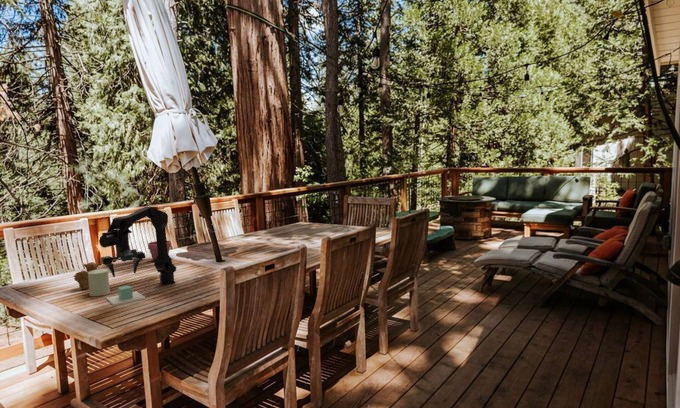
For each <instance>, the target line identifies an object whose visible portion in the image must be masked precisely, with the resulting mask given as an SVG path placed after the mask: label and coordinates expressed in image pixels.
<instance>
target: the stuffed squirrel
mask: <svg viewBox="0 0 680 408" xmlns="http://www.w3.org/2000/svg"><path fill="white" fill-rule="evenodd" d="M83 267H84V268H85V270H81V271H78V272H76V273H75V275H73V276H72V277H73V279H74V281H75V282H77V283H78V286H79V288H80V289H82V290H89V280H88V272H89V271H93V270H98V269H100V268H101V267H100V266H99V265H98V264H97V263H96V262H93V261H92V262H88V263H83Z"/></svg>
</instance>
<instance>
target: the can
mask: <svg viewBox="0 0 680 408" xmlns="http://www.w3.org/2000/svg"><path fill="white" fill-rule="evenodd" d="M88 280H89V289H88V290H89V291H88V292H89V293H88V294H89V296H91V297H100V296H101V297H102V296H105V295H107V294H110V292H111V291H110V279H109V269H106V268H101V269H99V268H97V270H93V271H89V272H88Z"/></svg>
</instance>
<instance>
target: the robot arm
mask: <svg viewBox="0 0 680 408" xmlns="http://www.w3.org/2000/svg"><path fill="white" fill-rule="evenodd" d="M168 215H169V214H168V213H167V212H165V211H163V210H159V209H157V208H155V207H153V206H144V207H142V208H140V209H138V210H136V211H134V212H132V213H129V214H127V215H122V216H117V217H114V218H112V220H111V222H110V224H109V225H110V226H109V227H108V229H107V231H106V232H102V234H101V236H100V237H99V240H98V243H99V245H100V247H102V248H104V249H105V248H111V247H114V246H115V256H110V255H106V256H101V257H100V258H99V260H100V263H101V265H103V266H106V267H108V270H109V271H110V273H111V275H112V277H113V278H116V273H115V269H114V262H117V261H121V262H128V261H130V262H131V261H132V262H133V263H132V264H133V265H132V266H133V270H132V271H133V273H134V274H136V273H137V270H138V266H139V264H140V262H141V261H143V259H146V253H145V252H143V251H139V250H138V251H137V249H136V248H133V249H131V247H130V243H129V242H130V241H129V234H131V233H133V231H131V230H130V228H131V227H132V226H133V225H134V224H135V223H136V222H138V221H140V220H143V219H144V218H148V219H149V220H150V222H151V225H152V226H153V228H154V229H155V241H157V252H158V255H157V257H156V258H155V259H154V265H153V267H155V269H156V271H157V273H160V274H159V275H158V276H159V278H158V279H159V283H160V284H161V285H162V286H163V285H165V286H166V285H169V284H174V283H176V281H175V274H174V273H175V272H176V271H177V266H175V264H174V263H173V261H172V258H171V256H170V254H169V255H168V252H167V241H168V240H167V233H166V232H167V231H166V227H167V225H168V223H169V216H168Z"/></svg>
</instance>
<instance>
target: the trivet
mask: <svg viewBox="0 0 680 408" xmlns="http://www.w3.org/2000/svg"><path fill="white" fill-rule="evenodd" d="M132 293H133V298H128V299H123V300H121V299H120V298H119V294H116V295H111V296H106V298H105V299H106V300H107V301H108V302H109V303H110V304H111V305H112V306H113V307H116V306H120V305H124V304H130V303H134V302H138V301H142V300H146V297H145V296H144V295H143V294H141V293H140V292H139V291H137V290H136V291H132Z"/></svg>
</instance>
